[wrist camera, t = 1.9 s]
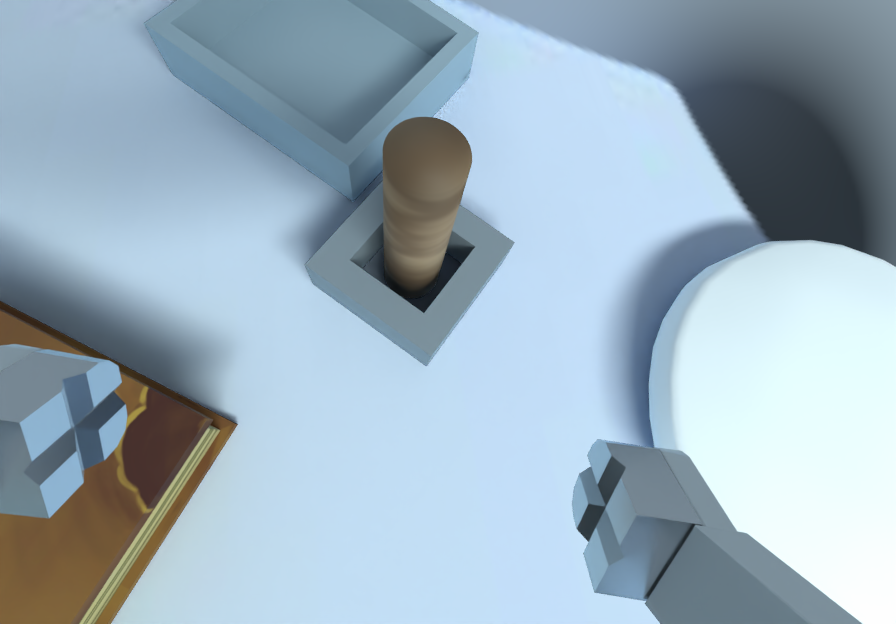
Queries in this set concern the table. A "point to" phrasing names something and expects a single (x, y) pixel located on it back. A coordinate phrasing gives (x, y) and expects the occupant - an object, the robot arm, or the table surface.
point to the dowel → (420, 200)
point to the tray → (319, 72)
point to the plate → (792, 408)
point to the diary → (105, 499)
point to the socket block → (382, 307)
